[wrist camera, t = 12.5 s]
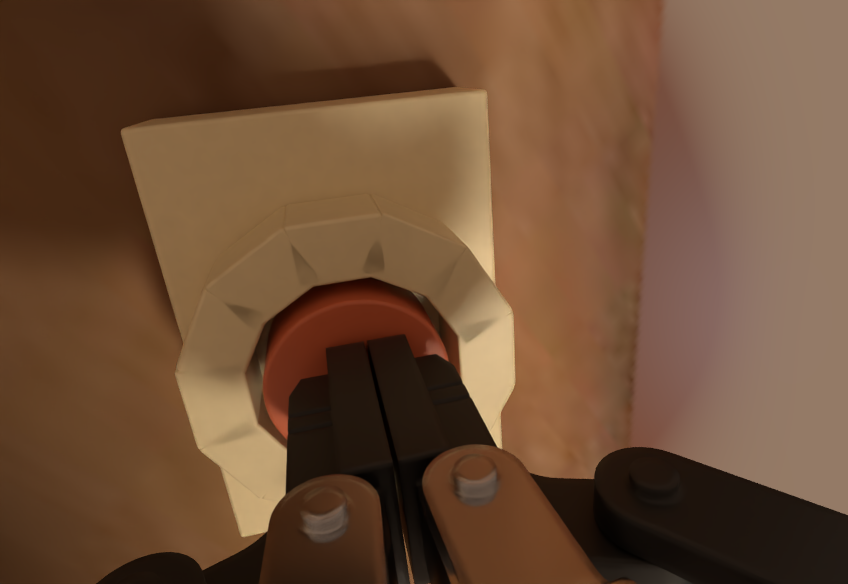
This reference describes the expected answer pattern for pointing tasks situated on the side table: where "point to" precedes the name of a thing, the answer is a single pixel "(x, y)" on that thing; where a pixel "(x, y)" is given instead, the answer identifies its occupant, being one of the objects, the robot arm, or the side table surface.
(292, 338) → the bell button
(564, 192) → the side table surface
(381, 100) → the doorbell
